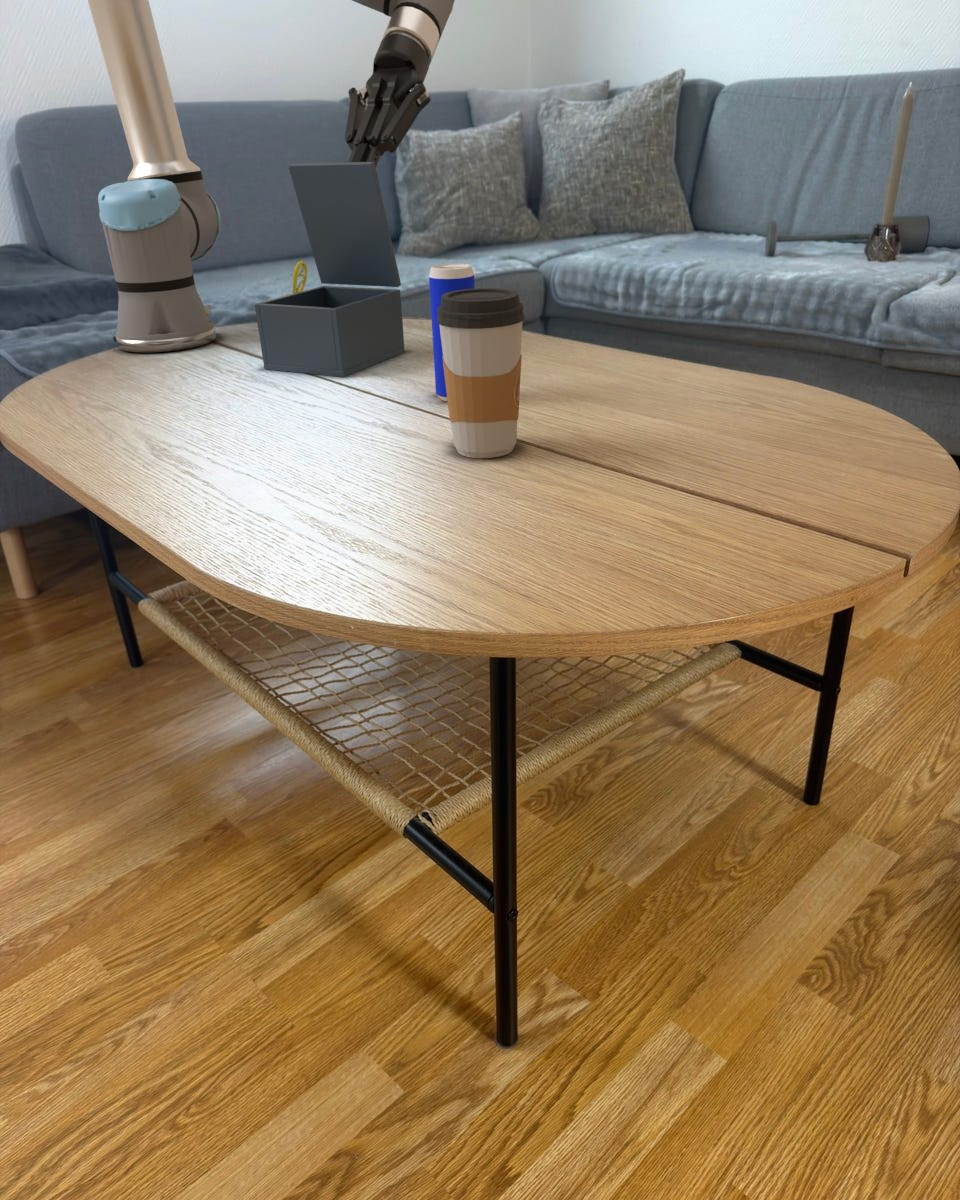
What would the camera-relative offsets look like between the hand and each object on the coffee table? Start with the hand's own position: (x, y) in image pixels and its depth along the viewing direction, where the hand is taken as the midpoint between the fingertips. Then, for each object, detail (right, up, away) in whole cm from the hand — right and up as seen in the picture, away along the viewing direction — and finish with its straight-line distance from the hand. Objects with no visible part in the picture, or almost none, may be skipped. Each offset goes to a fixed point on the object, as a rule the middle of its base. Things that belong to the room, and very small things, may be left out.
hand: (352, 189), depth 121 cm
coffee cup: (+18, -42, -32) cm, 56 cm away
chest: (-3, -23, +4) cm, 23 cm away
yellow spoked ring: (-14, -12, +24) cm, 31 cm away
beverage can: (+15, -33, -15) cm, 39 cm away
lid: (-1, -5, 0) cm, 5 cm away
